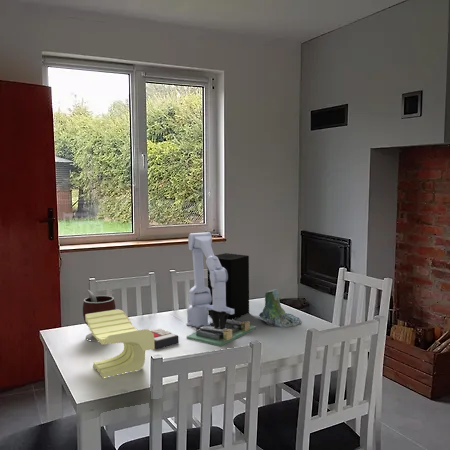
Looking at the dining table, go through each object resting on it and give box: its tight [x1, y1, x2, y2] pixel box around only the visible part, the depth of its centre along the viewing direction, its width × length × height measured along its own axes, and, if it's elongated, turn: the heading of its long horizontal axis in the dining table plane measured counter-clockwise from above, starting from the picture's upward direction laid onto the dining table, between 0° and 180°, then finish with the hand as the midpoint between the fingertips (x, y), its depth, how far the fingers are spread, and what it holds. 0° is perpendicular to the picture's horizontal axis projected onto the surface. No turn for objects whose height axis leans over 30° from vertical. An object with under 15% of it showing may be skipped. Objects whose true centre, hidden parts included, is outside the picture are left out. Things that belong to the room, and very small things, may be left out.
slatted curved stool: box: [85, 308, 156, 379], centre depth 179 cm, size 30×16×18 cm, turn 30°
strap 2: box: [219, 319, 243, 325], centre depth 223 cm, size 12×3×1 cm, turn 55°
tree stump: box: [258, 288, 302, 328], centre depth 234 cm, size 18×20×18 cm
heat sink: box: [195, 320, 250, 341], centre depth 217 cm, size 16×22×4 cm
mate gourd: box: [82, 289, 117, 342], centre depth 214 cm, size 16×14×20 cm
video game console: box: [207, 252, 250, 320], centre depth 245 cm, size 15×15×30 cm
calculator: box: [150, 328, 180, 350], centre depth 207 cm, size 11×4×15 cm
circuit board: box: [186, 325, 256, 347], centre depth 217 cm, size 18×28×1 cm, turn 145°
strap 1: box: [199, 325, 227, 331], centre depth 211 cm, size 12×3×1 cm, turn 55°
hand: (219, 328), depth 209 cm, fingers open, 2 cm apart
